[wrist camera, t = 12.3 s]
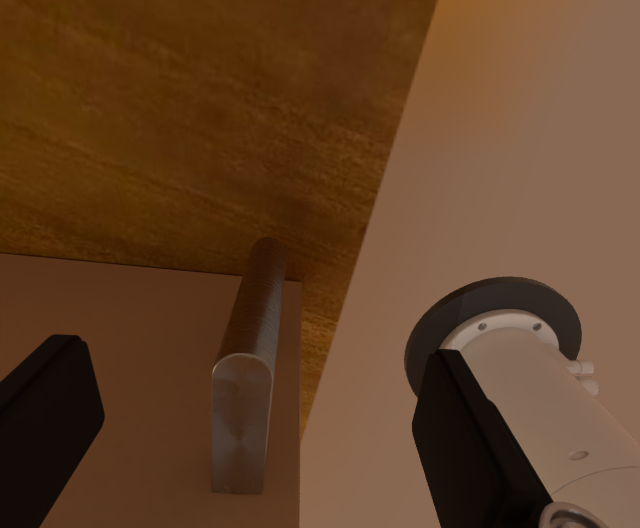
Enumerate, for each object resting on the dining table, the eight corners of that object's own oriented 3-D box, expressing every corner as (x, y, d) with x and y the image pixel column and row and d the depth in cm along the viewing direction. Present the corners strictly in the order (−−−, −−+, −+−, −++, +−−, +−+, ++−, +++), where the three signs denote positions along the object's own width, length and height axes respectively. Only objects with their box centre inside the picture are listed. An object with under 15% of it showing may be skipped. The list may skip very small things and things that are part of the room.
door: (-26, 162, 25) (-1726, 537, 4) (311, 202, 28) (338, 577, 6) (2, 264, 29) (-851, 755, 8) (300, 291, 31) (293, 732, 10)
